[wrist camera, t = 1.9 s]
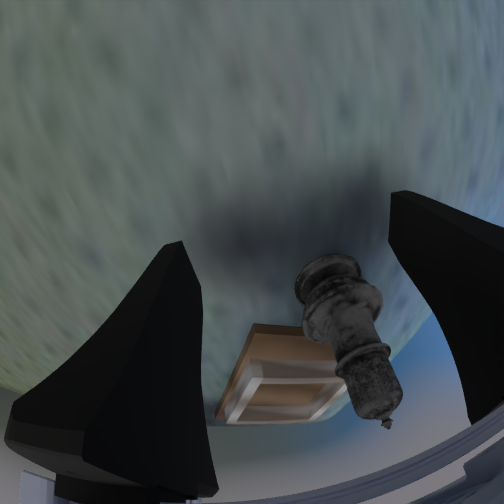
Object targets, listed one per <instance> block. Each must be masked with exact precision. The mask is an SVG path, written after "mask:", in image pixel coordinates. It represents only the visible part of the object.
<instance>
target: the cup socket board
mask: <svg viewBox="0 0 504 504" xmlns="http://www.w3.org/2000/svg"><path fill="white" fill-rule="evenodd" d="M336 365H337V362H336V359H335V356H334V353H333V351H332V348H331V346H330V344H321V343H316V342H314V341H312V340H310V339H308V338H307V337H306V336H305V334H304V333H303V329H302V328H301V327H287V326H274V325H262V324H253V326H252V329H251V331H250V333H249V336H248V338H247V340H246V343H245V345H244V347H243V350H242V352H241V354H240V357H239V359H238V361H237V364H236V366H235V368H234V370H233V373H232V375H231V377H230V380H229V382H228V384H227V386H226V389H225V391H224V393H223V395H222V398H221V400H220V402H219V404H218V407H217V409H216V411H215V419H220V420H225V421H226V424H279V423H296V422H309V421H314V420H315V419H316V418H317V417H319V416H320V415H321V414H322V413H323V412H324V411H325V410H326V409H327V408H328V407H329V406H330V405H331V404H332V403H333V402H334V401H336V400H337V399H338V398H339V397H340V396H341V395H342V394H343V393H344V392H345V391H346V390H347V387H346V384H345V381H344V379H342V378H339V377H337V376H336V375H335V368H336Z"/></svg>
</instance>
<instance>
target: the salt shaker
mask: <svg viewBox="0 0 504 504" xmlns="http://www.w3.org/2000/svg"><path fill="white" fill-rule="evenodd" d="M295 293H296V297H297V298H298V300H299V301H300V302H301V303H302V304H304V305H305V307H304V314H303V316H304V317H303V319H302V329H303V333H304V334H305V336H306V337H307V338H308V339H310V340H312V341H314V342H316V343H321V344H330V346H331V348H332V351H333V353H334V356H335V359H336V362H337V365H336V368H335V375H336V376H337V377H339V378H342V379H344V381H345V384H346V387H347V390H348V393H349V395H350V398H351V401H352V404H353V407H354V410H355V412H356V414H357V415H358V416H359V417H361V418H363V419H369V420H372V419H377V420H382V424H381V426H384V427H385V428H387V429H390V428H391V427H390V426H391V425H392V423H391V422H392V421H393V420H392V419H390V418H389V416H390V415H391V414H392V412H393V410H395V409H396V408H397V406H398V405H399V404H400V402H401V400H402V396H403V392H402V388H401V386H400V384H399V381H398V379H397V377H396V375H395V373H394V370H393V368H392V366H391V364H390V362H389V359H388V358H389V356H390V353H391V349H390V346H389V345H387V344H385V343H382V342H381V340H380V338H379V336H378V334H377V332H376V330H375V327H374V324H373V323H374V322H375V320H376V319H377V317H378V316H379V314H380V312H381V309H382V306H383V298H382V295H381V293H380V291H379V290H378V289H377V288H376V287H375V286H372V285H370V284H369V283H367V282H366V281H365V280H363V279H361V269H360V267H359V265H358V263H357V262H356V261H355V260H354V259H353V258H351V257H349V256H347V255H342V254H332V255H326V256H323V257H320V258H318V259H316V260H315V261H313V262H311V263H310V264H309V265H307V266H306V267H305V268H304V269H303V270H302V272H301V273H300V274H299V276H298V278H297V280H296V283H295Z"/></svg>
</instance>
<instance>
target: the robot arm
mask: <svg viewBox="0 0 504 504" xmlns="http://www.w3.org/2000/svg"><path fill="white" fill-rule="evenodd" d="M388 242H389V244H390V246H391V248H392V250H393V252H394V254H395V255H396V257H397V259H398V261H399V262H400V264H401V266H402V267H403V268H404V270H405V271H406V273H407V274H408V276H409V277H410V278H411V280H412V281H413V283H414V284H415V286H416V287H417V288H418V290H419V291H420V293H421V294H422V296H423V297H424V299H425V300H426V302H427V303H428V305H429V306H430V308H431V309H432V311H433V313H434V314H435V316H436V318H437V320H438V322H439V324H440V326H441V329H442V331H443V333H444V335H445V337H446V340H447V342H448V345H449V347H450V350H451V352H452V355H453V358H454V361H455V364H456V366H457V370H458V373H459V377H460V380H461V384H462V388H463V392H464V397H465V402H466V407H467V414H468V418H469V420H470V422H471V425H472V426H471V427H469V428H467V429H465V430H464V431H462V432H460V433H458V434H457V435H455V436H453V437H451V438H450V439H448V440H446V441H444V442H442V443H440V444H439V445H436V446H435V447H433V448H430V449H428V450H426V451H424V452H422V453H420V454H418V455H416V456H414V457H411V458H409V459H407V460H405V461H402V462H400V463H397V464H395V465H392V466H390V467H387V468H385V469H382V470H380V471H377V472H374V473H371V474H368V475H365V476H362V477H359V478H356V479H353V480H350V481H346V482H343V483H340V484H336V485H332V486H328V487H325V488H320V489H317V490H312V491H307V492H303V493H298V494H292V495H287V496H281V497H274V498H267V499H260V500H252V501H241V502H226V503H201V498H205V497H212V496H214V495H215V494H216V493H217V492H218V490H219V487H218V483H217V479H216V475H215V471H214V466H213V461H212V458H211V452H210V446H209V441H208V435H207V428H206V421H205V414H204V406H203V396H202V386H201V351H202V327H203V305H202V293H201V286H200V283H199V281H198V279H197V276H196V274H195V272H194V269H193V267H192V264H191V262H190V260H189V257H188V255H187V252H186V250H185V247H184V245H183V243H182V241H178V242H174V243H170V244H166V245H164V246H163V247H162V248H161V250H160V251H159V252H158V253H157V255H156V256H155V257H154V259H153V260H152V261H151V263H150V264H149V266H148V267H147V268H146V270H145V271H144V272H143V274H142V275H141V277H140V278H139V279H138V281H137V282H136V283H135V285H134V286H133V287H132V289H131V290H130V291H129V293H128V294H127V295H126V296H125V298H124V299H123V300H122V302H121V303H120V304H119V305H118V307H117V308H116V309H115V311H114V312H113V313H112V314H111V315H110V316H109V318H108V319H107V320H106V321H105V322H104V323H103V324H102V326H101V327H100V328H99V329H98V330H97V331H96V332H95V333H94V334H93V335H92V336H91V338H89V339H88V340H87V341H86V342H85V343H84V344H83V345H82V346H81V347H80V348H79V349H78V350H77V351H76V352H75V353H74V354H73V355H72V356H71V357H70V358H69V359H68V360H67V361H66V362H65V363H63V364H62V365H61V366H60V367H59V368H58V369H57V370H55V371H54V372H53V373H52V374H51V375H49V376H48V377H47V378H46V379H44V380H43V381H42V382H41V383H39V384H38V385H37V386H35V387H34V388H32V389H31V390H30V391H28V392H27V393H25V394H24V395H23V396H21V397H20V398H18V399H17V400H16V401H14V403H13V405H12V409H11V412H10V416H9V420H8V424H7V428H6V433H5V437H4V441H5V443H6V445H7V446H8V447H9V448H10V449H12V450H13V451H14V452H16V453H17V454H19V455H21V456H23V457H24V458H26V459H28V460H30V461H32V462H34V463H36V464H38V465H40V466H42V467H44V468H46V469H48V470H50V471H52V472H55V473H56V481H54V480H51V479H49V478H46V477H43V476H40V475H37V474H34V473H31V472H28V471H26V470H23V471H22V476H21V484H20V495H19V504H357V503H360V502H363V501H366V500H369V499H372V498H375V497H377V496H380V495H383V494H386V493H388V492H391V491H394V490H396V489H398V488H401V487H403V486H406V485H408V484H410V483H412V482H415V481H417V480H419V479H421V478H423V477H425V476H427V475H429V474H431V473H433V472H435V471H437V470H439V469H441V468H443V467H445V466H446V465H448V464H450V463H452V462H453V461H455V460H457V459H458V458H460V457H462V456H464V455H465V454H467V453H469V452H470V451H472V450H473V449H475V448H476V447H478V446H479V445H481V444H483V443H484V442H485V441H487V440H488V439H490V438H491V437H493V436H494V435H495V434H497V433H498V432H500V431H501V430H502V429H503V428H504V228H503V227H500V226H498V225H495V224H492V223H489V222H487V221H484V220H482V219H479V218H477V217H474V216H472V215H469V214H467V213H465V212H462V211H460V210H457V209H455V208H453V207H450V206H448V205H446V204H443V203H441V202H438V201H436V200H433V199H431V198H428V197H426V196H423V195H420V194H417V193H414V192H411V191H407V190H404V191H398V192H393V193H391V205H390V223H389V237H388ZM463 468H464V470H465V473H466V475H464V476H463V477H461V478H459V479H457V480H456V481H454V482H452V483H450V484H448V485H446V486H445V487H443V488H441V489H439V490H437V491H435V492H432V493H430V494H428V495H426V496H424V497H422V498H420V499H417V500H415V501H413V502H410V503H408V504H504V437H503V438H501V439H500V440H499V441H497V442H496V443H494V444H493V445H491V446H490V447H488V448H487V449H485V450H483V451H482V452H481V453H479V454H477V455H476V456H475V457H473V458H472V459H470V460H469V461H467V462H466V463H465V464H464V466H463Z"/></svg>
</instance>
